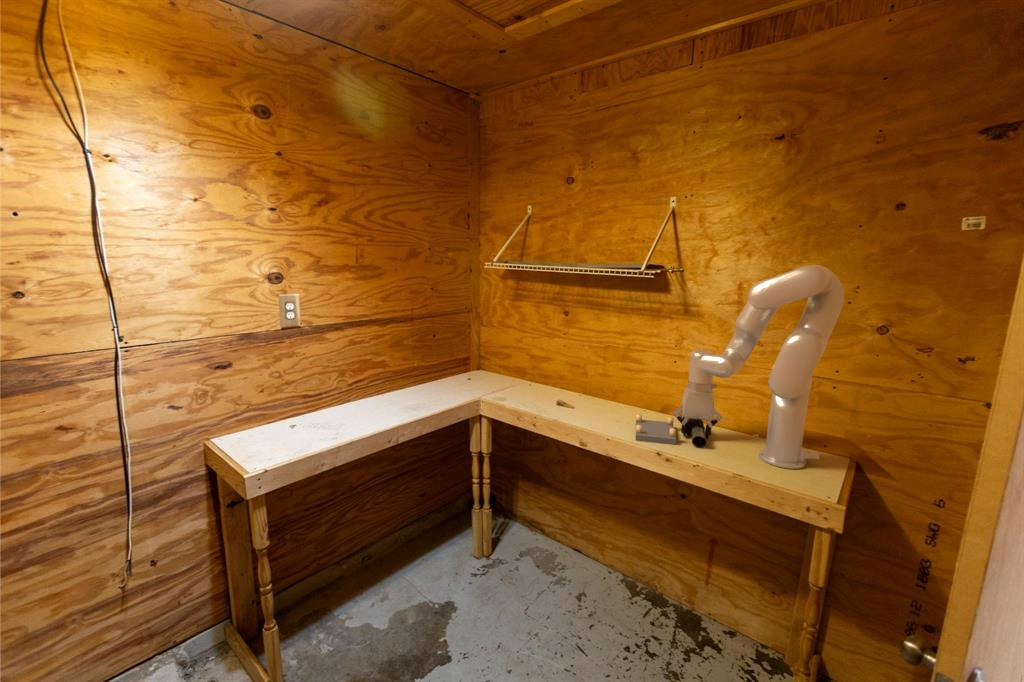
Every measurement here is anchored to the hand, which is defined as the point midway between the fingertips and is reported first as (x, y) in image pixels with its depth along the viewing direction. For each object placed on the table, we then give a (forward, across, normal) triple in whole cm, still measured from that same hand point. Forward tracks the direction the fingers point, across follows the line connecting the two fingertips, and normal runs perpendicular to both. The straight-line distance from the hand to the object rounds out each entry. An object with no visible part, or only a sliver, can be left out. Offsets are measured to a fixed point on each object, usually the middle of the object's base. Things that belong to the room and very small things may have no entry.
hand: (695, 435), depth 159 cm
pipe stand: (+1, +14, 0) cm, 14 cm away
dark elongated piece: (+1, 0, 0) cm, 1 cm away
